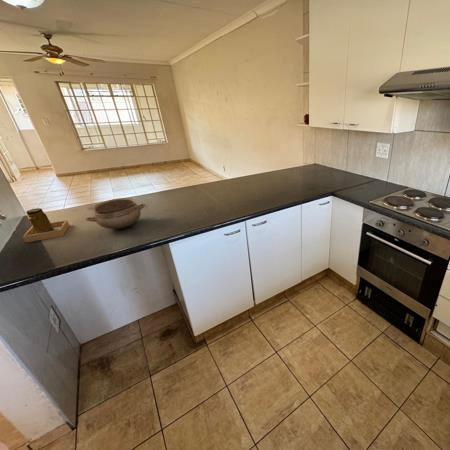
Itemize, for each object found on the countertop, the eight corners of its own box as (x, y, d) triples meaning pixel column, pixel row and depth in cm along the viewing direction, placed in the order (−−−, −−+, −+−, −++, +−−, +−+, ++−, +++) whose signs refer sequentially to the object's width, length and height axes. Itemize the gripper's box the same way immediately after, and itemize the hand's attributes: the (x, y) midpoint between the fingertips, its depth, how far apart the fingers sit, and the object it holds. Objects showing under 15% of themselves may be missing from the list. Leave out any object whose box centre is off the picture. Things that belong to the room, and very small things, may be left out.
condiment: (36, 232, 119) (23, 209, 113) (59, 226, 124) (48, 205, 118) (36, 238, 114) (22, 214, 109) (60, 232, 119) (48, 209, 114)
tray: (26, 242, 112) (22, 236, 110) (35, 231, 121) (32, 225, 120) (63, 235, 117) (60, 229, 116) (69, 225, 127) (67, 219, 125)
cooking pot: (97, 242, 112) (86, 218, 106) (89, 228, 123) (79, 206, 118) (155, 224, 128) (148, 202, 122) (143, 213, 139) (137, 193, 134)
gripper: (-50, 207, 92) (2, 223, 101) (-31, 193, 106) (13, 209, 116) (-62, 221, 91) (-8, 236, 101) (-41, 205, 106) (4, 220, 115)
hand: (3, 221), depth 108 cm, fingers open, 8 cm apart
